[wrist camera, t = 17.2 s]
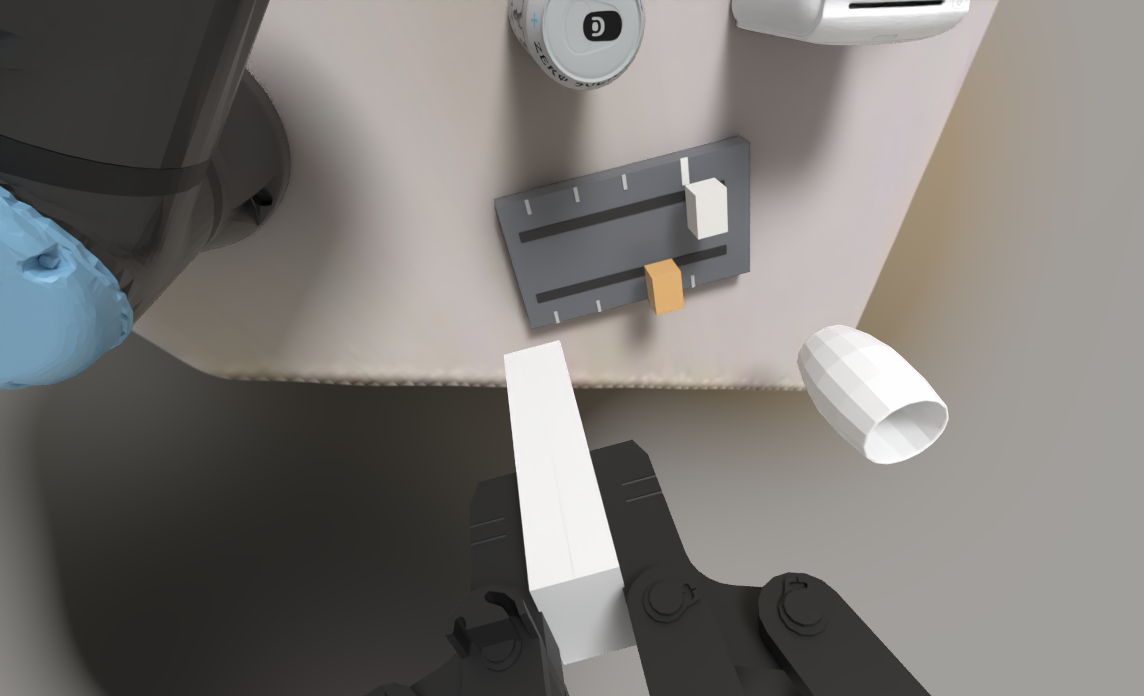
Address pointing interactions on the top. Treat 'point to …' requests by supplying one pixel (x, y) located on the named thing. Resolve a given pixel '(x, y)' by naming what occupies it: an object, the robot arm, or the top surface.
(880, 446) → the cup
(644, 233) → the console
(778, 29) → the photo printer
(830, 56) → the top surface
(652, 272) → the fader orange
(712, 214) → the fader white
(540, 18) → the energy drink can
